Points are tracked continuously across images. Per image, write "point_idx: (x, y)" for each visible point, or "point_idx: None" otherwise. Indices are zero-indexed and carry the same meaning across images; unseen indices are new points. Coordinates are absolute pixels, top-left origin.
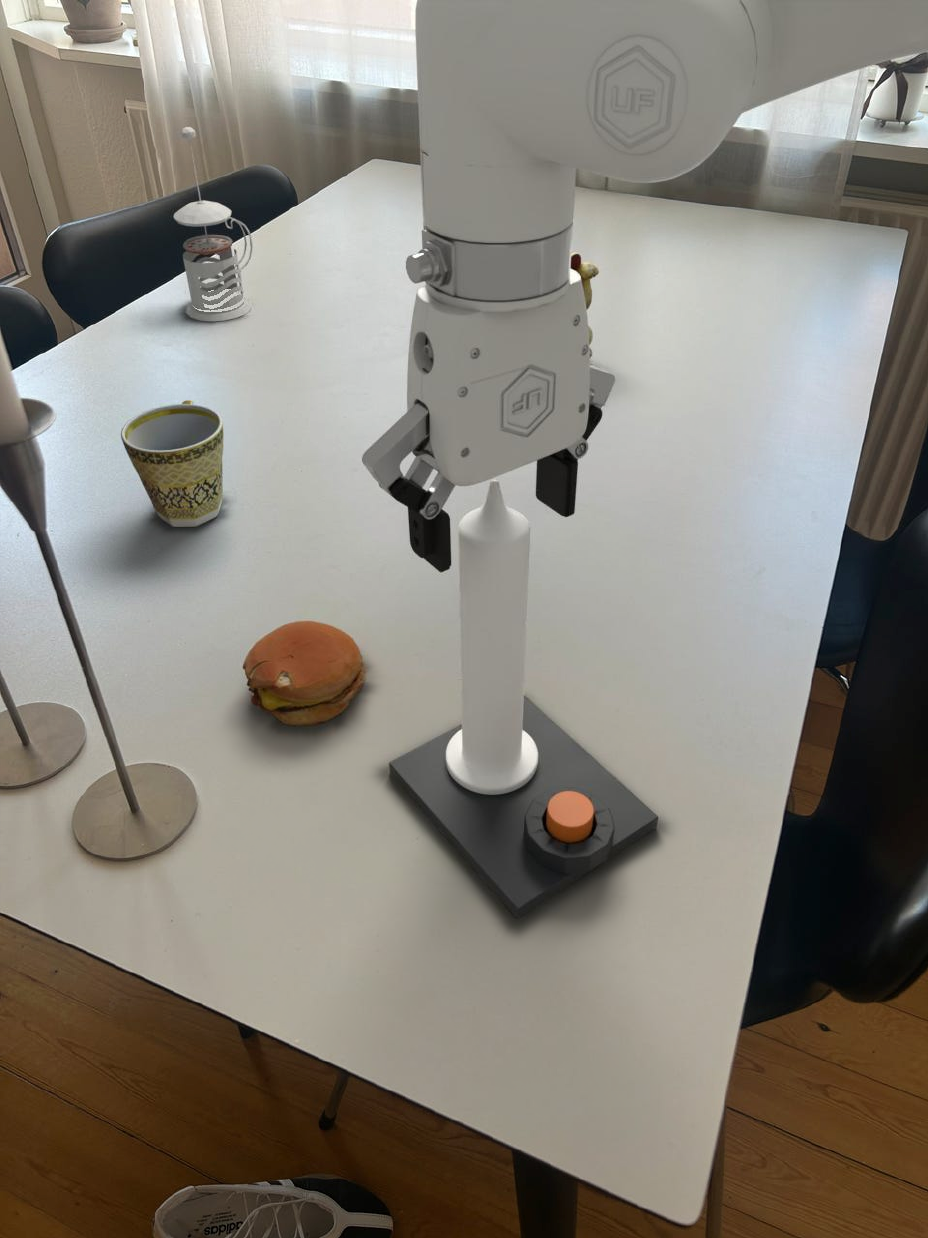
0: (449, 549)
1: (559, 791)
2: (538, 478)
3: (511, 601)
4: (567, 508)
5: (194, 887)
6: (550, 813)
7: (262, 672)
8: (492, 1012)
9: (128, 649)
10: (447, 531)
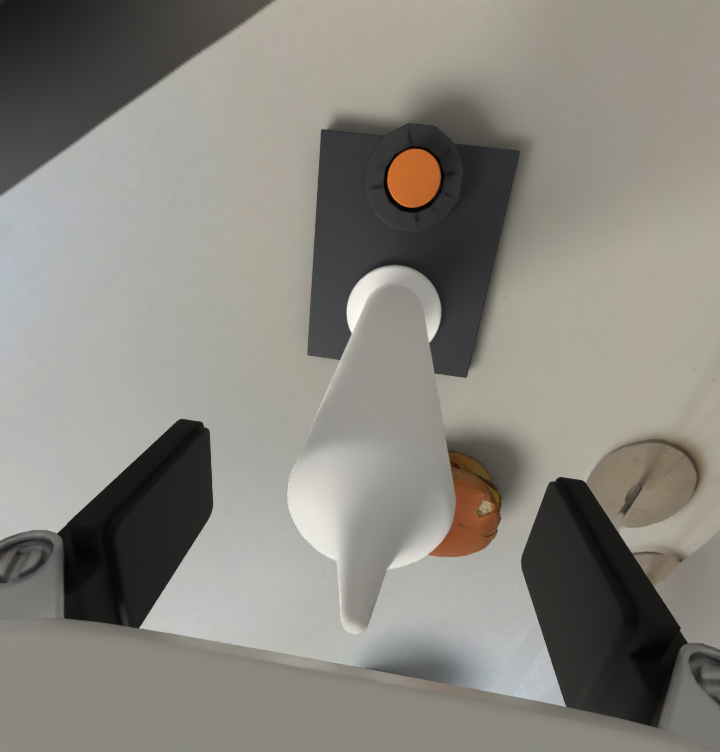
0: (577, 516)
1: (389, 219)
2: (185, 548)
3: (395, 368)
4: (190, 435)
5: (674, 393)
6: (434, 191)
7: (492, 526)
8: (619, 86)
9: (516, 610)
10: (622, 568)
